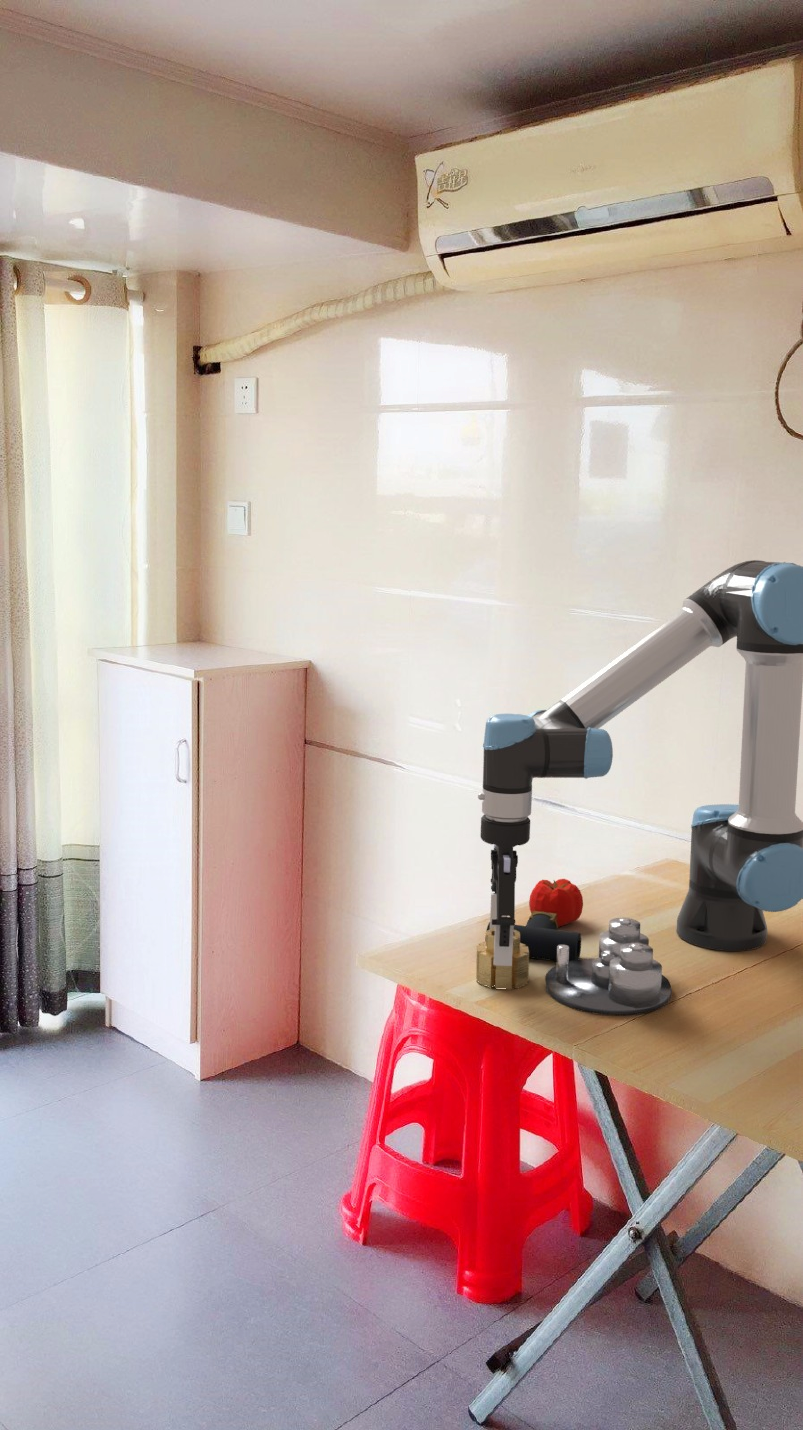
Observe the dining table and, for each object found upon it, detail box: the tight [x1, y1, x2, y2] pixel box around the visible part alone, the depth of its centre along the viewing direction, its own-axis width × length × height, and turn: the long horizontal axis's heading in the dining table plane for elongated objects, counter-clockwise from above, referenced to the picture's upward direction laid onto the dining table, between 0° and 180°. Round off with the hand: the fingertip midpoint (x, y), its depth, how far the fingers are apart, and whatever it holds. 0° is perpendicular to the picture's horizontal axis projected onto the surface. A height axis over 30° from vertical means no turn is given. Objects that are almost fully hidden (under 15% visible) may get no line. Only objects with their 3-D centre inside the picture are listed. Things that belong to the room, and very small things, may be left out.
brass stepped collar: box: [475, 928, 530, 989], centre depth 181 cm, size 8×8×8 cm
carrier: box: [544, 917, 672, 1017], centre depth 178 cm, size 19×19×9 cm
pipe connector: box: [484, 911, 582, 962], centre depth 195 cm, size 12×5×15 cm
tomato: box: [528, 878, 584, 928], centre depth 207 cm, size 9×9×8 cm
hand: (500, 948), depth 181 cm, fingers open, 13 cm apart
